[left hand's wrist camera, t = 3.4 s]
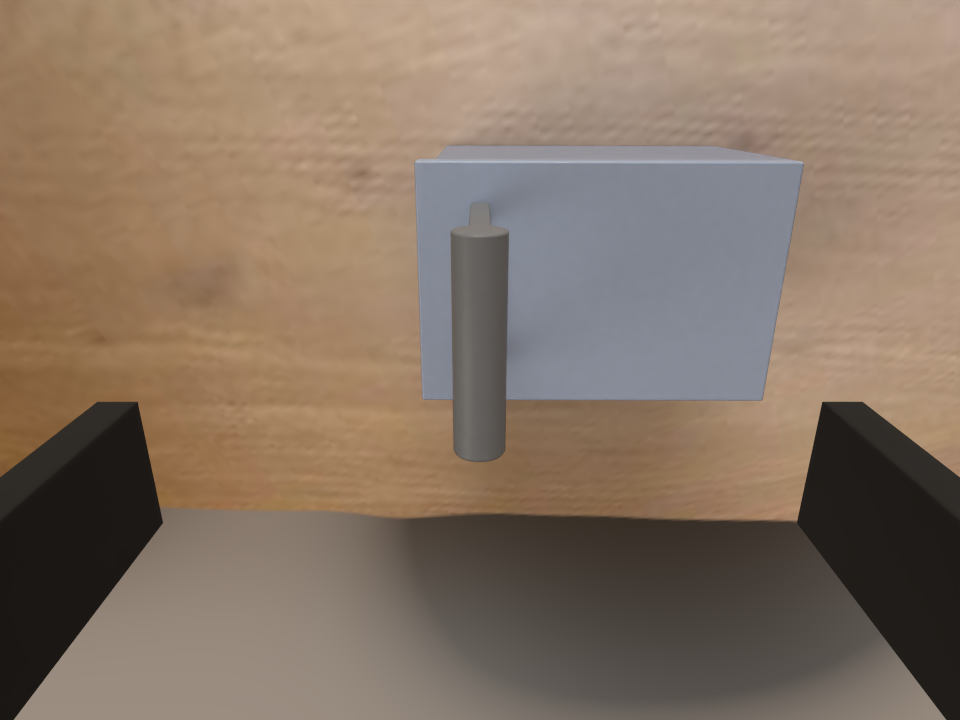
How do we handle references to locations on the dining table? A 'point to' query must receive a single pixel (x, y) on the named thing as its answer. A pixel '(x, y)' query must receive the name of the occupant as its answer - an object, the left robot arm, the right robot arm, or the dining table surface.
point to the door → (596, 282)
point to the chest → (598, 152)
